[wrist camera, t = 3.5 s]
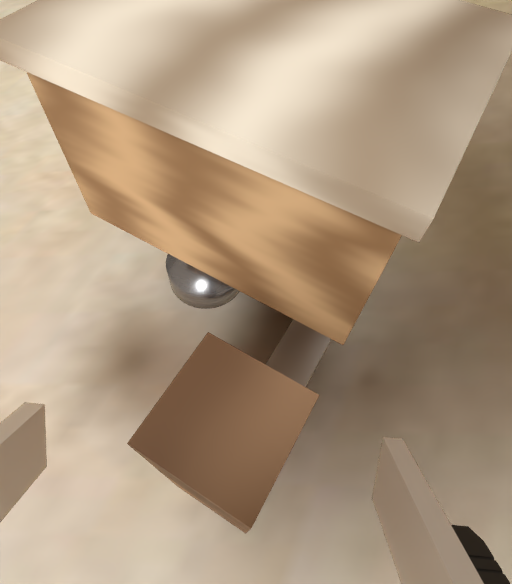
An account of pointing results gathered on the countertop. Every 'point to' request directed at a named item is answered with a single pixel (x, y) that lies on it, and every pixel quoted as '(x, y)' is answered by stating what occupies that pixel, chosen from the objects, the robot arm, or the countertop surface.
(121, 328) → the countertop surface
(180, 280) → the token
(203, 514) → the countertop surface
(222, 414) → the wooden upright block
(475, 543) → the robot arm
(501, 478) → the countertop surface
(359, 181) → the cabinet
